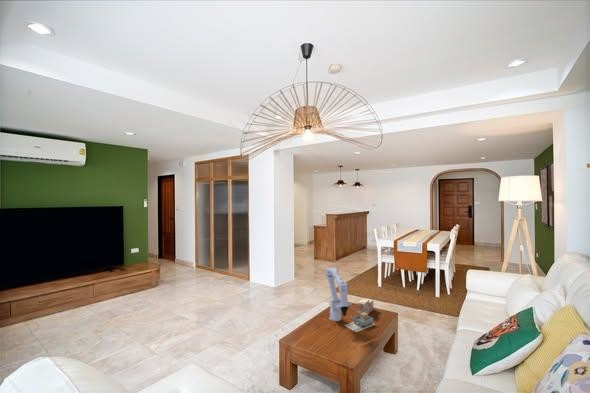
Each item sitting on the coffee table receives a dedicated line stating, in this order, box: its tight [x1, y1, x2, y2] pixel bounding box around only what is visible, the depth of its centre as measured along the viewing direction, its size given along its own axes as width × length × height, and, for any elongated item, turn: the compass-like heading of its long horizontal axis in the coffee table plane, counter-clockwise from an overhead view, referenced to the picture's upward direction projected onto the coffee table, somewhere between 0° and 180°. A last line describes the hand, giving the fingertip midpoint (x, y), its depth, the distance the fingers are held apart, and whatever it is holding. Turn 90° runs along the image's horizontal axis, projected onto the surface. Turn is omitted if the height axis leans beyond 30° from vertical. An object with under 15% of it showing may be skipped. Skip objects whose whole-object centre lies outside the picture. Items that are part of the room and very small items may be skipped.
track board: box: [344, 321, 376, 333], centre depth 230 cm, size 13×22×1 cm, turn 122°
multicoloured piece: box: [356, 297, 374, 316], centre depth 255 cm, size 21×6×12 cm, turn 143°
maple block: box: [360, 312, 369, 321], centre depth 232 cm, size 4×4×5 cm
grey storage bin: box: [352, 315, 374, 327], centre depth 232 cm, size 11×12×5 cm
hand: (344, 315), depth 226 cm, fingers closed
